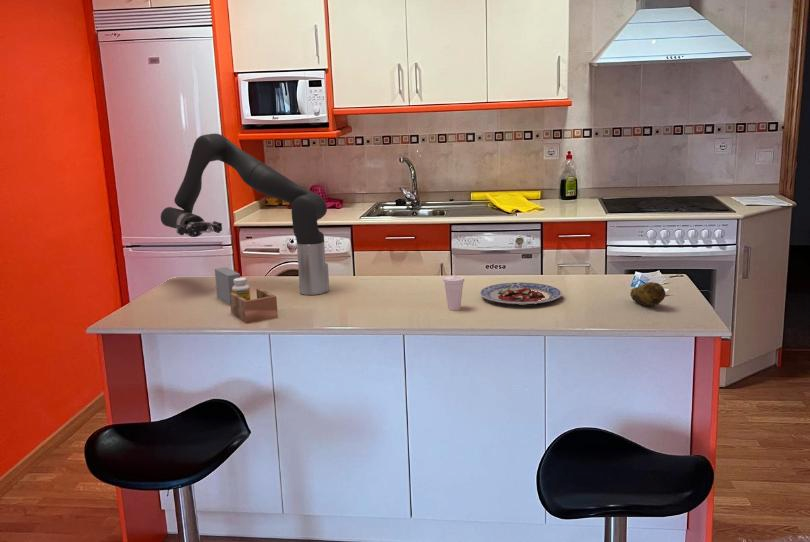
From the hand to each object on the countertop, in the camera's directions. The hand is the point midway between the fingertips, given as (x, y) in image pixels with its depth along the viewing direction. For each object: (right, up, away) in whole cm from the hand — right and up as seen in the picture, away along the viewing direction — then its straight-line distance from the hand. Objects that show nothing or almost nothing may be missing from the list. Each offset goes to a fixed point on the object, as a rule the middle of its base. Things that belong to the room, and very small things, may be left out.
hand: (206, 231), depth 244 cm
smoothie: (+80, -25, -16) cm, 85 cm away
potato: (+138, -24, -20) cm, 141 cm away
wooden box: (+19, -27, -16) cm, 36 cm away
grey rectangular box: (+7, -23, +2) cm, 24 cm away
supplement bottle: (+13, -25, -7) cm, 29 cm away
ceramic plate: (+102, -22, -6) cm, 104 cm away
